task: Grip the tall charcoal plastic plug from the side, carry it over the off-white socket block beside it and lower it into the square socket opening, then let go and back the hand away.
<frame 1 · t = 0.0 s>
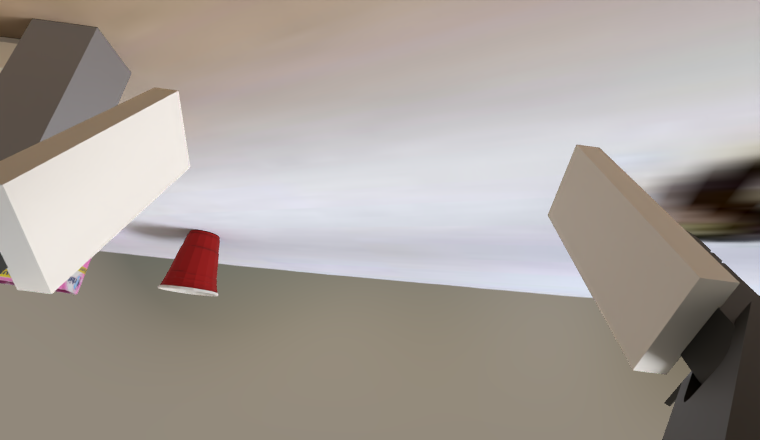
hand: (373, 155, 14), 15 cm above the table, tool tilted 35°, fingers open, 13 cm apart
plastic cup: (206, 234, 80), on the table
socket: (10, 80, 38), on the table
plug: (85, 47, 33), on the table
gum box: (37, 221, 88), on the table
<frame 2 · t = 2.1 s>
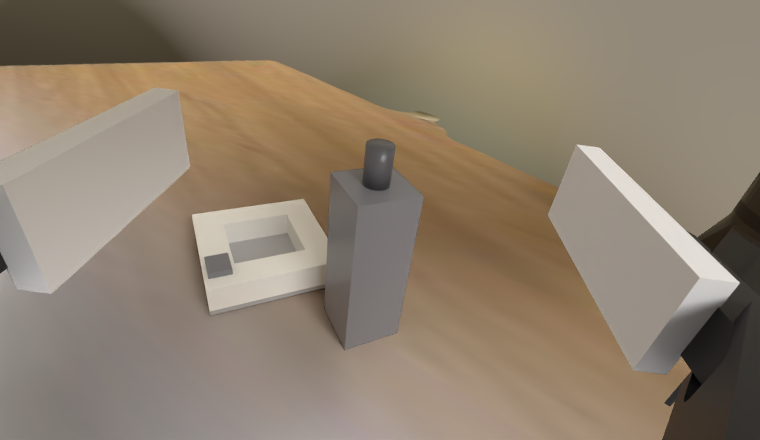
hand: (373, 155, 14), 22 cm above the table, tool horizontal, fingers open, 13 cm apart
socket: (264, 260, 41), on the table
plug: (359, 320, 36), on the table
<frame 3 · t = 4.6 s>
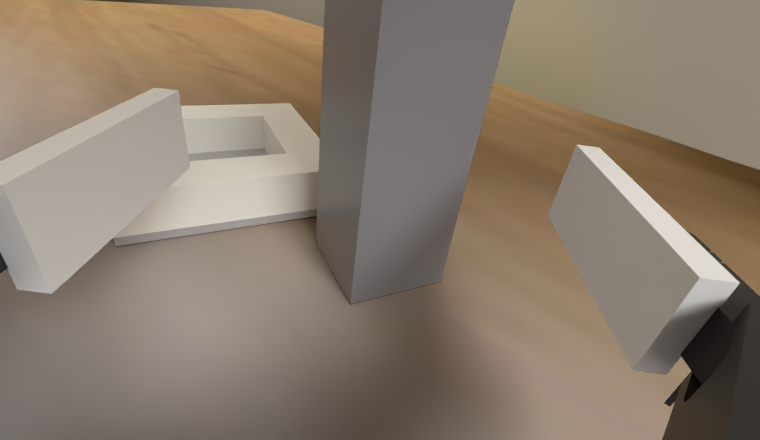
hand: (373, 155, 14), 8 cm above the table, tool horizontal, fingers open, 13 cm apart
socket: (225, 178, 27), on the table
plug: (375, 261, 21), on the table
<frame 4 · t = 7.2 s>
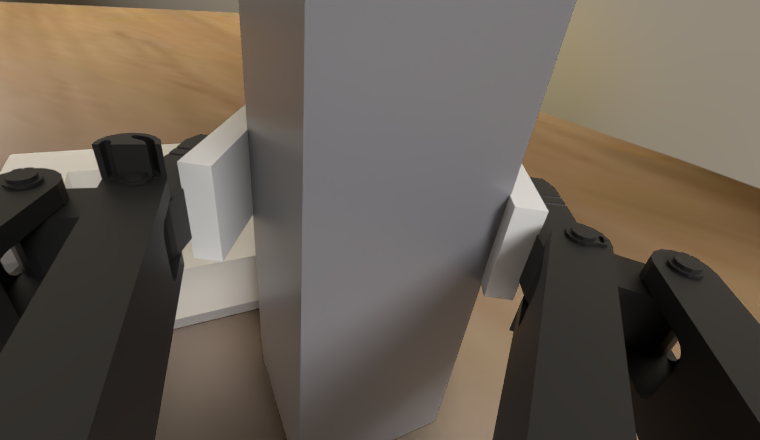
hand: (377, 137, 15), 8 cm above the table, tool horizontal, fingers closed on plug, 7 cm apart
socket: (155, 246, 21), on the table
plug: (344, 386, 15), on the table, touching gripper
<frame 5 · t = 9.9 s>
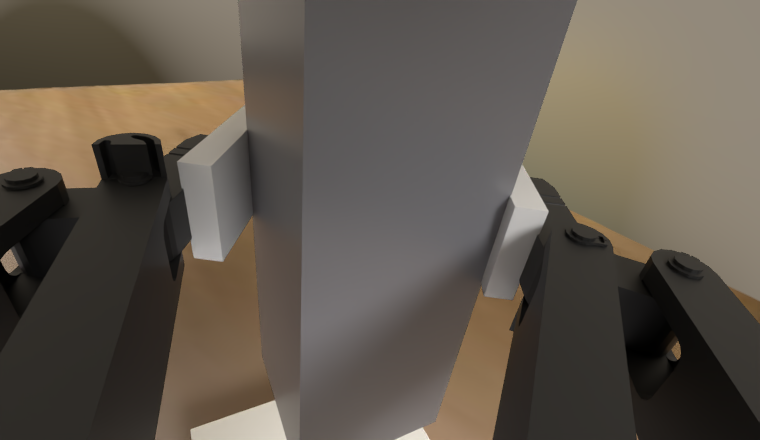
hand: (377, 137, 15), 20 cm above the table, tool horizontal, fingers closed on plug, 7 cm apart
plug: (344, 386, 15), point 12 cm above the table, touching gripper
when the fingers open (9 cm above the table, at t = 13.0 s): plug stays where it is, resting on socket.
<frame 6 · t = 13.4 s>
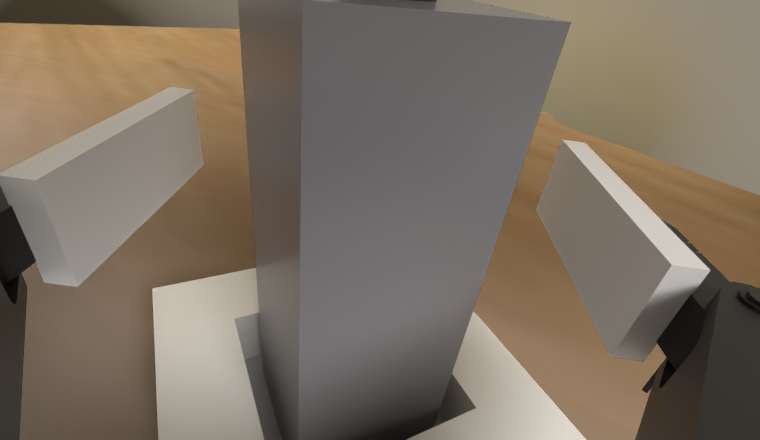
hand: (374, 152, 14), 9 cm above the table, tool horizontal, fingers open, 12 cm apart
socket: (341, 408, 16), on the table
plug: (342, 402, 16), resting on socket
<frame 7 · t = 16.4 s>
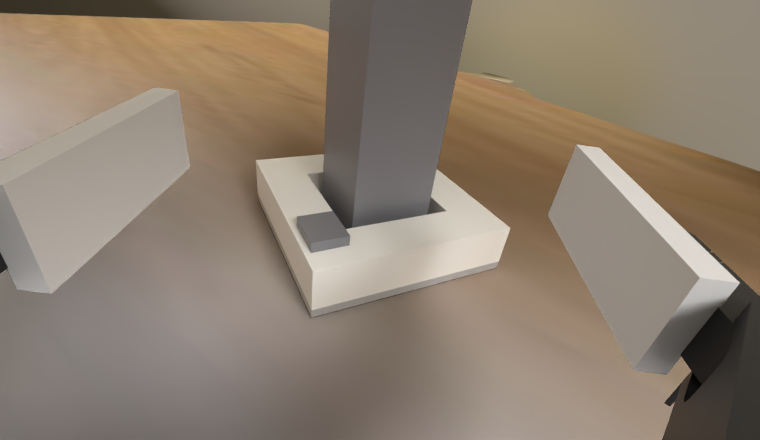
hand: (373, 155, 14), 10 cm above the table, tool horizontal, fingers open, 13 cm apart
socket: (369, 230, 27), on the table
plug: (370, 225, 26), resting on socket
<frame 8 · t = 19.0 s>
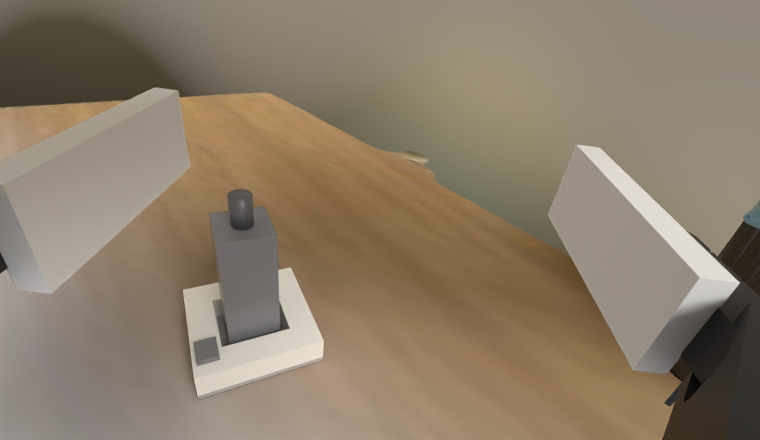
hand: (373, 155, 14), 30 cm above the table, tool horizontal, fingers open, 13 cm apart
socket: (251, 333, 44), on the table
plug: (251, 330, 43), resting on socket
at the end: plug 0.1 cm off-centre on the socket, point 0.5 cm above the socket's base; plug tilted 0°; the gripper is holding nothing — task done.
